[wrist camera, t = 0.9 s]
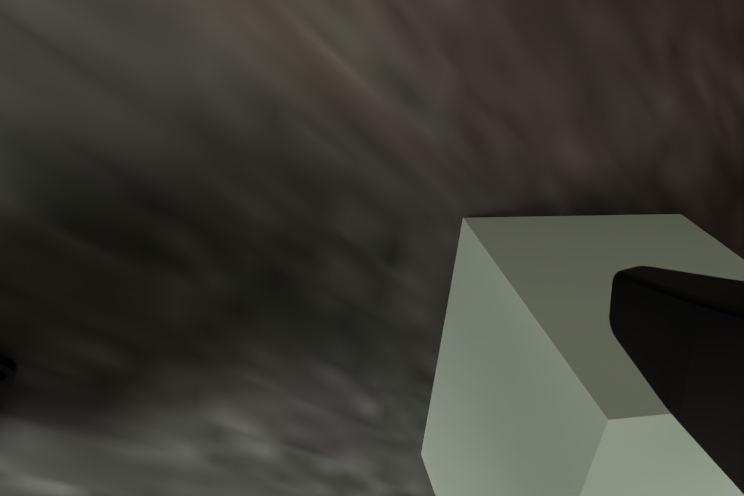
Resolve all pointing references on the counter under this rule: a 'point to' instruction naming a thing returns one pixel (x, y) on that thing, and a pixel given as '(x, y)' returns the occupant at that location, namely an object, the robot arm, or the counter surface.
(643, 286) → the robot arm
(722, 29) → the counter surface
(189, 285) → the counter surface
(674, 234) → the block
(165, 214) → the counter surface
